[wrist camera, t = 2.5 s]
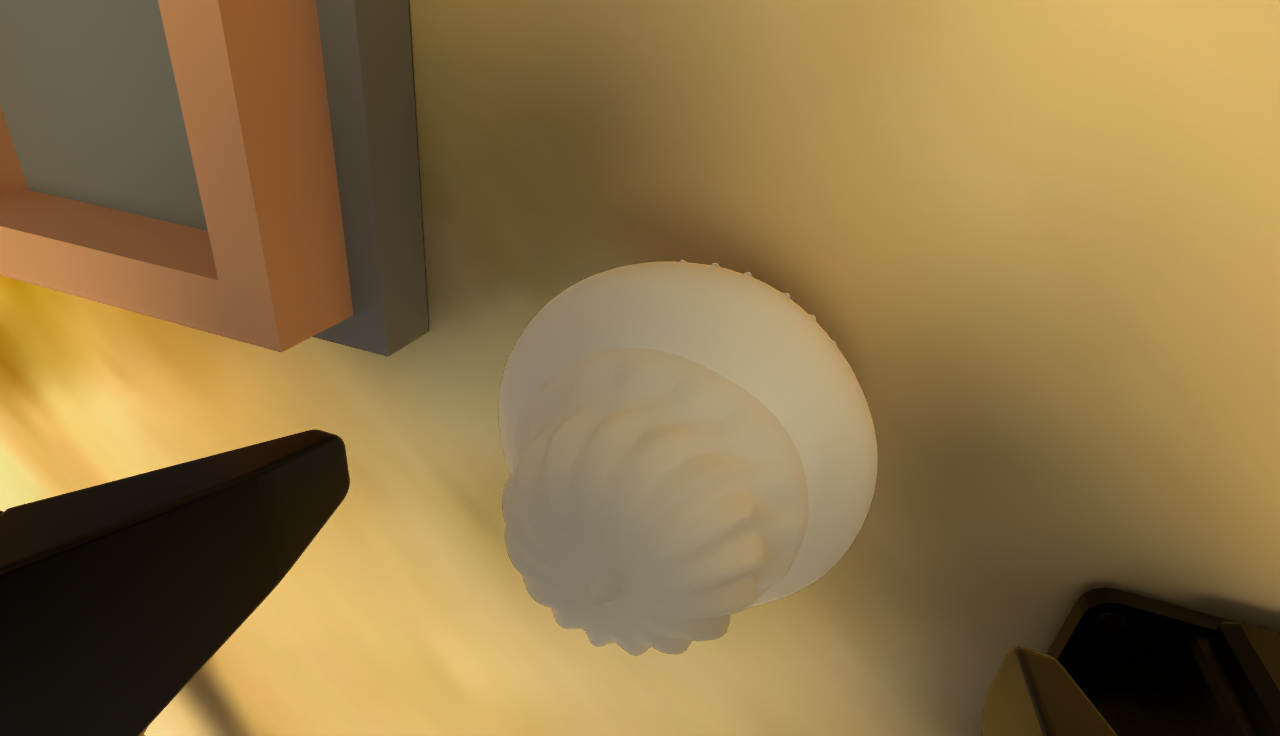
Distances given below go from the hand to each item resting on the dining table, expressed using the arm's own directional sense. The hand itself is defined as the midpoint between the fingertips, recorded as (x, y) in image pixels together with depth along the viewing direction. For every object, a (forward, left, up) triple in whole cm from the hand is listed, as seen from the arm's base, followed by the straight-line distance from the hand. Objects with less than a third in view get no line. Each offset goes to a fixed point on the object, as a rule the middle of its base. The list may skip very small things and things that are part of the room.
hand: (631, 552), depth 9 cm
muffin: (0, 0, -6) cm, 6 cm away
